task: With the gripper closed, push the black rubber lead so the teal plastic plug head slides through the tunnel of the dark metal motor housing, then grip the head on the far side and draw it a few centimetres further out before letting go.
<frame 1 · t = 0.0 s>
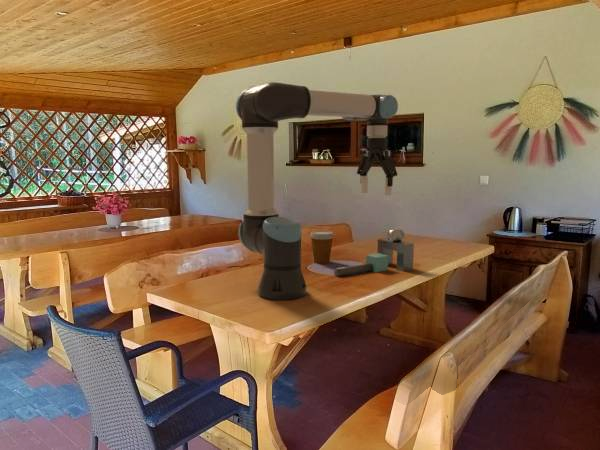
hand: (375, 194, 187), 28 cm above the table, fingers open, 13 cm apart
plug: (376, 269, 185), on the table
disposable coffee cup: (321, 262, 198), on the table
housing: (394, 266, 190), on the table
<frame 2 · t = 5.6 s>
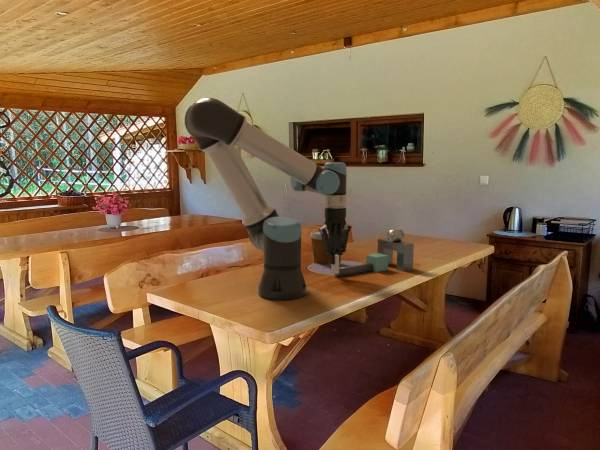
hand: (335, 272, 174), 1 cm above the table, fingers closed
plug: (376, 269, 185), on the table, touching gripper
everything else where it was.
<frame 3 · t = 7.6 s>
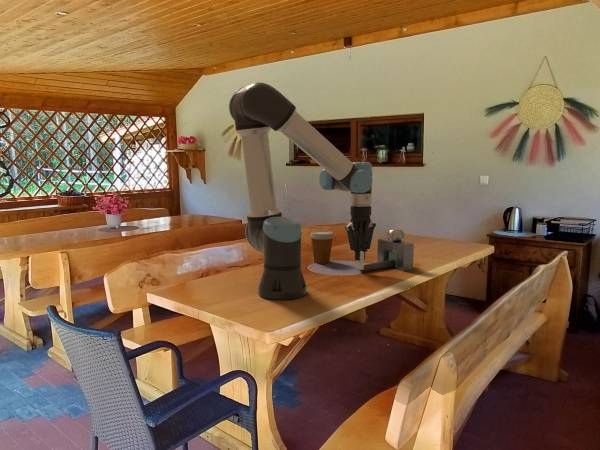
hand: (359, 268, 181), 1 cm above the table, fingers closed
plug: (399, 265, 191), on the table, touching gripper
everything else where it was.
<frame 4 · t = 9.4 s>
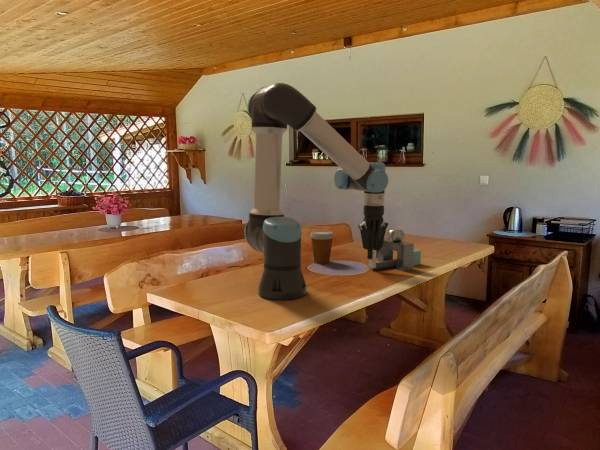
hand: (372, 267, 184), 1 cm above the table, fingers closed
plug: (409, 264, 194), on the table, touching gripper
everything else where it was.
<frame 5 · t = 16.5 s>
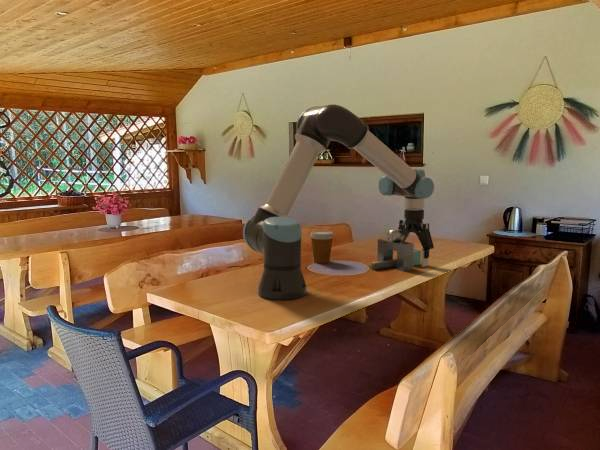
hand: (412, 263, 195), 0 cm above the table, fingers open, 12 cm apart
plug: (409, 264, 194), on the table
everything else where it was.
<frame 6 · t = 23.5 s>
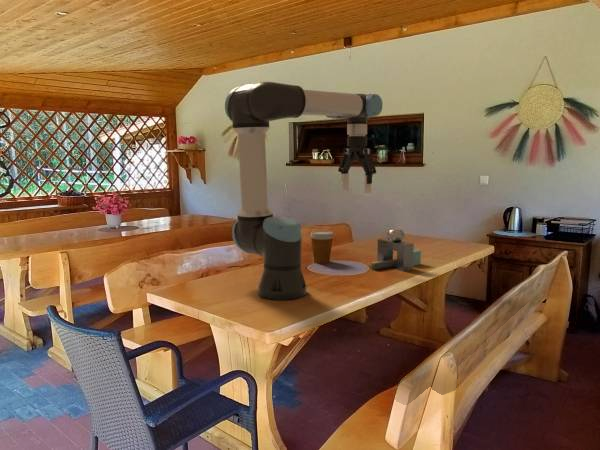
hand: (356, 191, 190), 29 cm above the table, fingers open, 13 cm apart
nothing on the table moved.
at the end: plug inside the target area (3.7 cm from its centre), on the table; plug moved 17.3 cm from its start; the gripper is holding nothing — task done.
